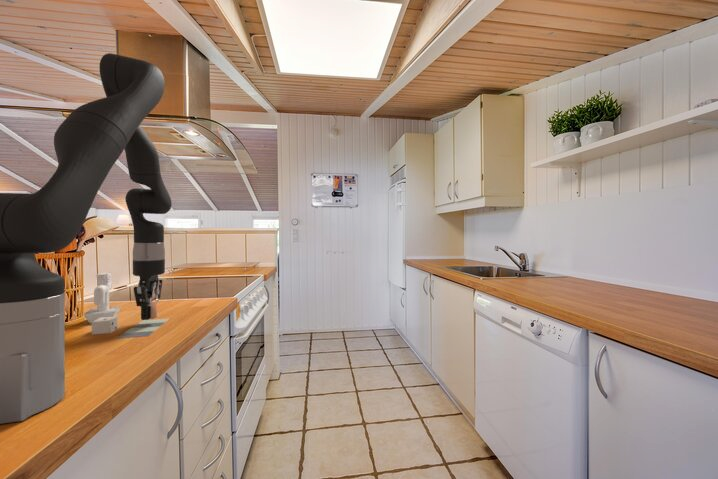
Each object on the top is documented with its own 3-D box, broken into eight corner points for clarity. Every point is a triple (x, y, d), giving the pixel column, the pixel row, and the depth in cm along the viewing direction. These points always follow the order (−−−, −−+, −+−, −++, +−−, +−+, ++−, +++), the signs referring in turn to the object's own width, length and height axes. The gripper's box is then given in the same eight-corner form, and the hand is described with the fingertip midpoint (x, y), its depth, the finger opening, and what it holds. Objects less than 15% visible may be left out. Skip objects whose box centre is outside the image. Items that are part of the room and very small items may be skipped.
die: (110, 335, 76) (110, 320, 76) (91, 337, 75) (91, 321, 75) (117, 330, 80) (118, 316, 80) (100, 332, 78) (100, 317, 78)
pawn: (153, 319, 81) (154, 292, 81) (139, 320, 80) (139, 292, 80) (158, 315, 85) (158, 289, 85) (144, 316, 84) (144, 290, 84)
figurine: (81, 328, 81) (81, 275, 81) (92, 319, 89) (92, 271, 89) (114, 324, 84) (114, 274, 84) (121, 316, 93) (122, 270, 92)
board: (148, 338, 74) (148, 335, 74) (115, 340, 72) (115, 338, 72) (169, 320, 89) (169, 318, 89) (143, 322, 87) (143, 320, 87)
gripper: (154, 260, 77) (154, 323, 77) (172, 256, 90) (172, 310, 91) (121, 260, 75) (121, 326, 75) (144, 256, 88) (144, 311, 88)
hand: (149, 317), depth 83 cm, fingers closed on pawn, 3 cm apart
